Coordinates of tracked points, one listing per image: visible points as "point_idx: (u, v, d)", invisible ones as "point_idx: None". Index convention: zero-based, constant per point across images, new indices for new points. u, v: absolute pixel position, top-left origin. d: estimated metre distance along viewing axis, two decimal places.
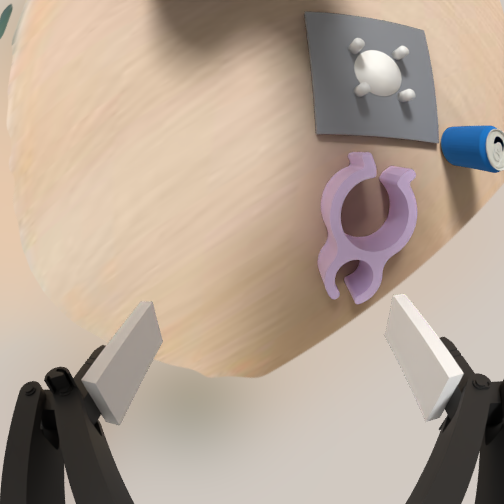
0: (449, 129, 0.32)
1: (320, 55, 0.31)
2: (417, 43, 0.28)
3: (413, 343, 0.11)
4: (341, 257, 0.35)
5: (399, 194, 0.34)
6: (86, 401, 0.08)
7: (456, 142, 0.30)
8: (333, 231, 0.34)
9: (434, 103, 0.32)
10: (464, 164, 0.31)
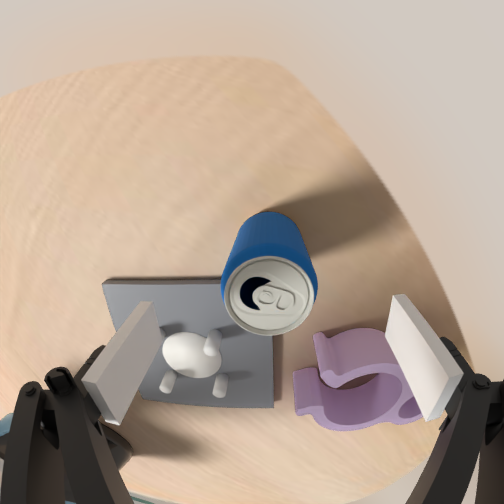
0: None
1: (189, 399, 0.36)
2: (126, 300, 0.31)
3: (413, 343, 0.11)
4: (391, 418, 0.28)
5: None
6: (86, 401, 0.08)
7: None
8: (365, 427, 0.29)
9: (208, 287, 0.29)
10: None
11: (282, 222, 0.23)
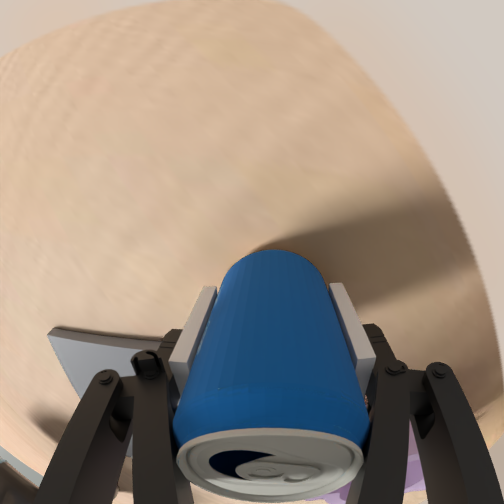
0: None
1: None
2: (77, 358, 0.20)
3: None
4: (416, 488, 0.17)
5: None
6: (171, 387, 0.10)
7: None
8: None
9: None
10: None
11: (299, 281, 0.12)
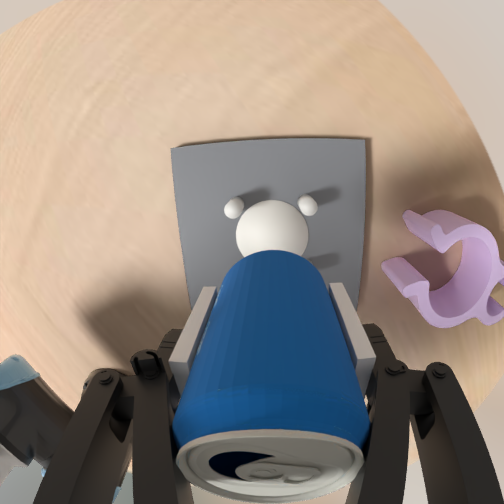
0: None
1: None
2: (200, 164, 0.27)
3: None
4: (481, 312, 0.25)
5: None
6: (171, 387, 0.10)
7: None
8: (459, 323, 0.26)
9: (303, 141, 0.26)
10: None
11: (299, 281, 0.12)
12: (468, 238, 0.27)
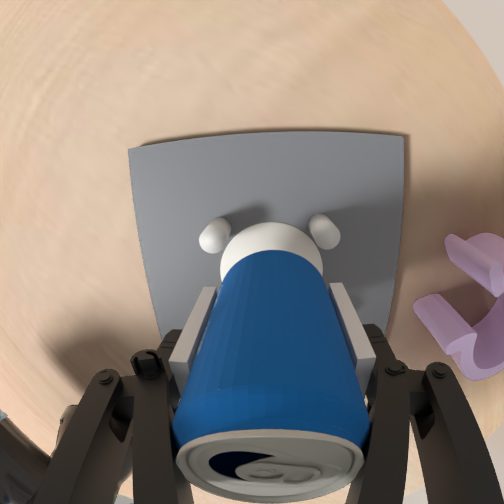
0: None
1: None
2: (168, 170, 0.19)
3: None
4: None
5: None
6: (171, 387, 0.10)
7: None
8: (497, 371, 0.17)
9: (318, 136, 0.17)
10: None
11: (299, 281, 0.12)
12: None
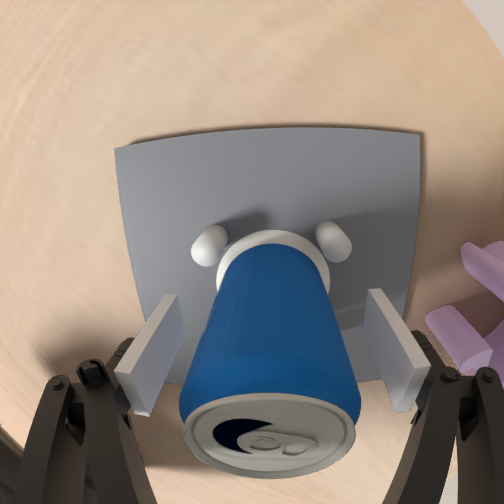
0: None
1: None
2: (157, 171, 0.17)
3: (385, 335, 0.12)
4: None
5: None
6: (118, 394, 0.09)
7: None
8: None
9: (326, 133, 0.15)
10: None
11: (296, 270, 0.13)
12: None
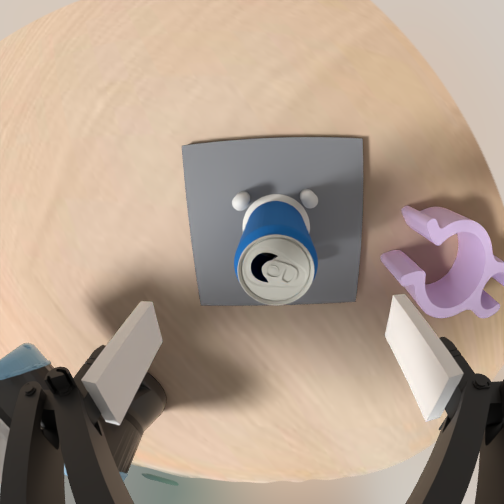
0: None
1: None
2: (209, 160, 0.30)
3: (413, 343, 0.11)
4: (475, 305, 0.27)
5: None
6: (86, 401, 0.08)
7: None
8: (454, 314, 0.28)
9: (305, 140, 0.28)
10: None
11: (287, 209, 0.26)
12: (463, 234, 0.29)
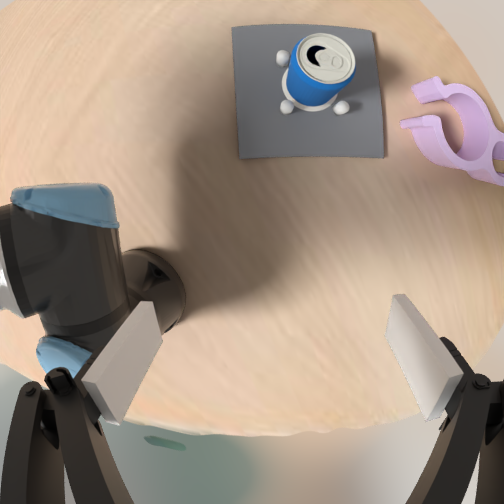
0: (293, 96, 0.31)
1: (299, 145, 0.35)
2: (254, 36, 0.30)
3: (413, 343, 0.11)
4: (489, 167, 0.28)
5: None
6: (86, 401, 0.08)
7: (315, 100, 0.28)
8: (473, 169, 0.28)
9: (328, 27, 0.28)
10: None
11: None
12: (465, 112, 0.29)
